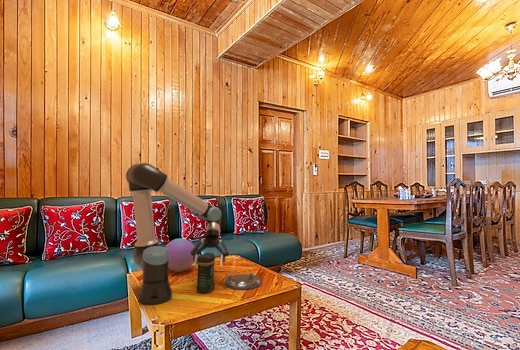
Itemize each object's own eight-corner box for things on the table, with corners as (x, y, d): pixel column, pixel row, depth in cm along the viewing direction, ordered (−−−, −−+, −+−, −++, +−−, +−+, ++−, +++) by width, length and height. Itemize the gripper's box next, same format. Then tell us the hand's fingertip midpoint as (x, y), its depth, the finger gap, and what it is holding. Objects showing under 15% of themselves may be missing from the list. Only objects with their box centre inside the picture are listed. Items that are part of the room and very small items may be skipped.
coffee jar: (208, 294, 141) (209, 256, 141) (194, 292, 143) (194, 255, 143) (216, 287, 150) (217, 252, 150) (203, 285, 152) (203, 250, 153)
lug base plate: (217, 285, 153) (217, 279, 153) (238, 274, 170) (238, 269, 170) (248, 292, 143) (248, 286, 143) (267, 280, 160) (267, 275, 160)
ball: (171, 265, 188) (171, 234, 188) (200, 267, 185) (200, 236, 185) (156, 275, 168) (156, 241, 168) (188, 277, 165) (188, 242, 165)
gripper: (234, 236, 166) (232, 270, 150) (191, 236, 165) (185, 270, 150) (234, 228, 160) (231, 263, 145) (189, 228, 160) (182, 263, 145)
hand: (208, 267), depth 148 cm, fingers open, 13 cm apart
